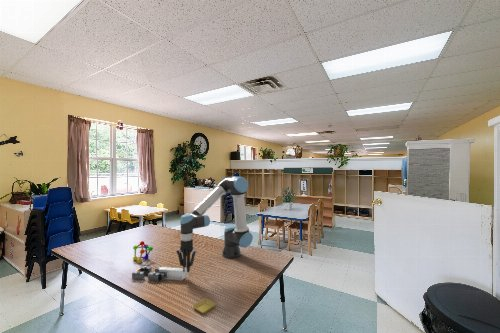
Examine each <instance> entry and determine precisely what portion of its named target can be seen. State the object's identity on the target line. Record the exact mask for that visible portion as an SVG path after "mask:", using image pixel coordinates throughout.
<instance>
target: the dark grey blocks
mask: <svg viewBox="0 0 500 333" xmlns="http://www.w3.org/2000/svg"><path fill="white" fill-rule="evenodd" d="M161 267H162V266H158V267H156V268H154V271H152V269H153V268H152V266H147V265H143V266H140V267H139V268H137V269H136V270H133V272H131V280H134V281H135V280H137V281H143V280H145V277H146V276H145V275H147V281H149V282H159V281H161V282H164V281H165V279H164V274H162V273H159V269H160V268H161Z"/></svg>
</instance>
